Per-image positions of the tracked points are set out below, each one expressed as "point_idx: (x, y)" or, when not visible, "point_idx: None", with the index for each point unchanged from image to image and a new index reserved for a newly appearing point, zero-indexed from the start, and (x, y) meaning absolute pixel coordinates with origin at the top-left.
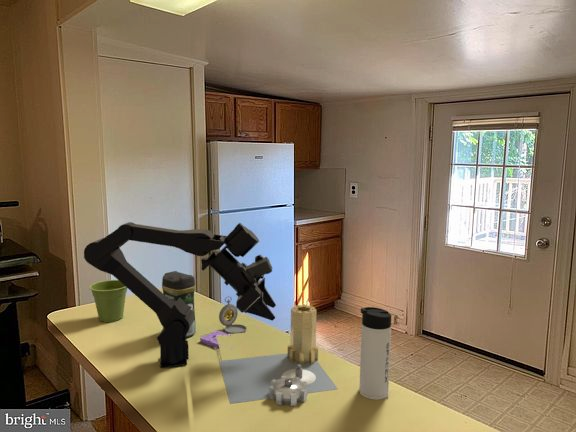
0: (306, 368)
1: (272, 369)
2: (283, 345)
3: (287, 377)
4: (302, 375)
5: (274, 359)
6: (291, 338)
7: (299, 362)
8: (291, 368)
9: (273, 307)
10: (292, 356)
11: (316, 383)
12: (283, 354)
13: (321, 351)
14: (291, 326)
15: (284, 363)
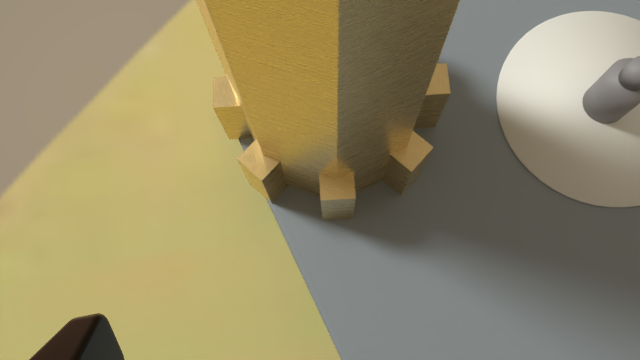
0: (472, 78)
1: (553, 287)
2: (85, 302)
3: (633, 168)
4: (575, 86)
5: (400, 305)
6: (365, 142)
7: (437, 120)
8: (499, 166)
9: (121, 357)
10: (427, 159)
11: (635, 3)
12: (303, 256)
13: (154, 42)
14: (365, 98)
15: (443, 223)
